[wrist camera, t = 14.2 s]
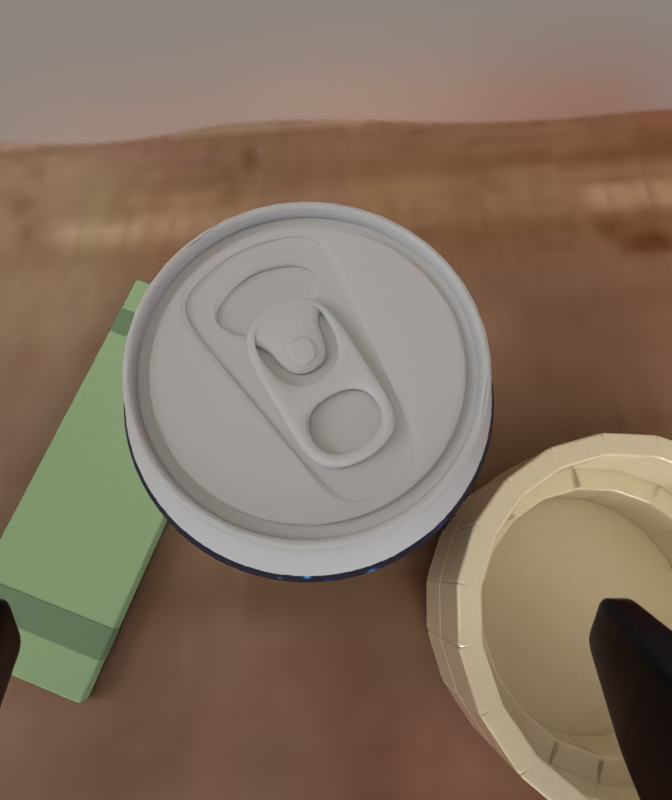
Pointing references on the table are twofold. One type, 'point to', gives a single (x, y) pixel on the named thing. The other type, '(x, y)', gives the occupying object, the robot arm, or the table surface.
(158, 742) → the table surface
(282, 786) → the table surface
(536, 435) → the table surface
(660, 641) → the robot arm
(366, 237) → the beverage can
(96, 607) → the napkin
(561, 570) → the bowl
